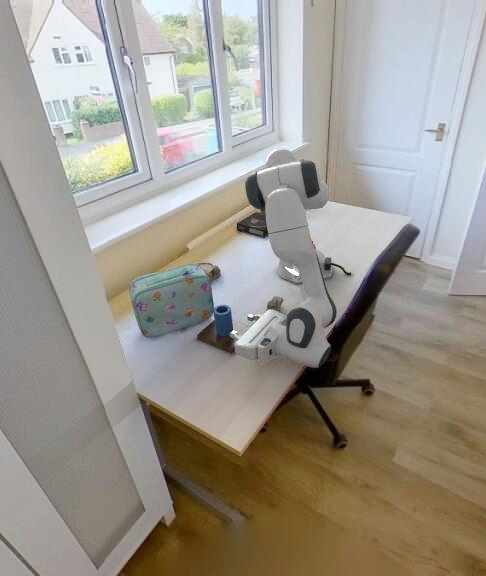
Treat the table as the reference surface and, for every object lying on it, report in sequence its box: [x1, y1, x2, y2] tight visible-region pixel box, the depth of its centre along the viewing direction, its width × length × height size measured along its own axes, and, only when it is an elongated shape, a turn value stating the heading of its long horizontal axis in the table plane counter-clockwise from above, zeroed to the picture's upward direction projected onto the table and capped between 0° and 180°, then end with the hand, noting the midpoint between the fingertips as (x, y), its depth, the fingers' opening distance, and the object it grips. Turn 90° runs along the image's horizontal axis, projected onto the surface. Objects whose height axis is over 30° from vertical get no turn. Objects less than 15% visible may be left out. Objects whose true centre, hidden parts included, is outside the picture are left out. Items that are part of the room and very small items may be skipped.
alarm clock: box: [196, 261, 222, 283], centre depth 161 cm, size 11×5×15 cm
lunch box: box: [128, 263, 215, 339], centre depth 131 cm, size 27×10×21 cm, turn 117°
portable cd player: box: [235, 211, 269, 239], centre depth 198 cm, size 16×17×4 cm
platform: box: [196, 319, 251, 355], centre depth 128 cm, size 14×12×9 cm
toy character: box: [265, 295, 284, 312], centre depth 140 cm, size 4×8×6 cm, turn 154°
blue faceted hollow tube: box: [213, 304, 233, 337], centre depth 127 cm, size 5×5×9 cm
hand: (240, 324), depth 124 cm, fingers open, 8 cm apart
